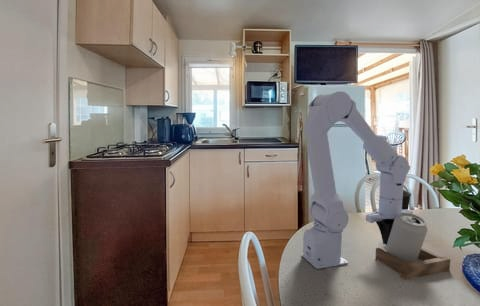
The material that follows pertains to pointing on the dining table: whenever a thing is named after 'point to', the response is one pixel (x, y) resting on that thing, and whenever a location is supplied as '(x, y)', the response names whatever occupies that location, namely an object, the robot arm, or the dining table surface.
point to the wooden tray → (415, 264)
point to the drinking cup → (405, 200)
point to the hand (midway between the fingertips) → (387, 244)
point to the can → (407, 237)
